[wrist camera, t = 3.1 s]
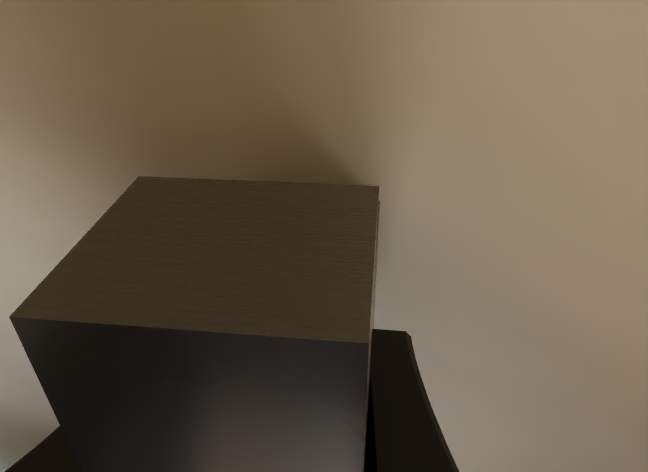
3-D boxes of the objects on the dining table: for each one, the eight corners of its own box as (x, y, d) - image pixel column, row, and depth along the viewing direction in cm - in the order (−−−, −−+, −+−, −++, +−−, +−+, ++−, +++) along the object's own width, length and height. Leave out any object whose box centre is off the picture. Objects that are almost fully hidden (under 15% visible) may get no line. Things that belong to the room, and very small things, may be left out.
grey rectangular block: (384, 98, 9) (369, 343, 4) (368, 429, 14) (352, 717, 9) (213, 94, 9) (9, 317, 4) (258, 420, 14) (185, 692, 9)
